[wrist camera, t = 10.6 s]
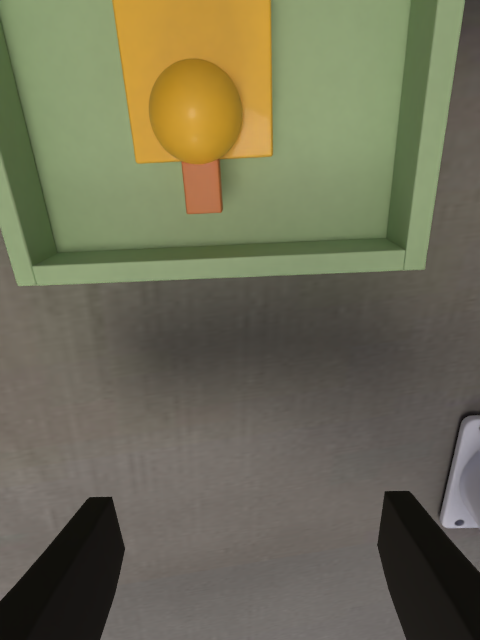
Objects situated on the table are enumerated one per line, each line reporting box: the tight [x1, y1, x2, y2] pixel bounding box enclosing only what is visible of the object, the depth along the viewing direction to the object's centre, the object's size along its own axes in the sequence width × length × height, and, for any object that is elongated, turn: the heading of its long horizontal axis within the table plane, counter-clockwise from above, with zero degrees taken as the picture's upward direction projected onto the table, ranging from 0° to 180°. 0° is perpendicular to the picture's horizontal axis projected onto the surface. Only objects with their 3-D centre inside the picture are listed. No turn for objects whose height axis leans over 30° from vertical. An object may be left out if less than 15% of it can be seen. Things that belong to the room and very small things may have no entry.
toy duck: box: [112, 0, 273, 214], centre depth 11 cm, size 9×4×5 cm, turn 3°
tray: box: [0, 0, 465, 286], centre depth 13 cm, size 16×15×3 cm
